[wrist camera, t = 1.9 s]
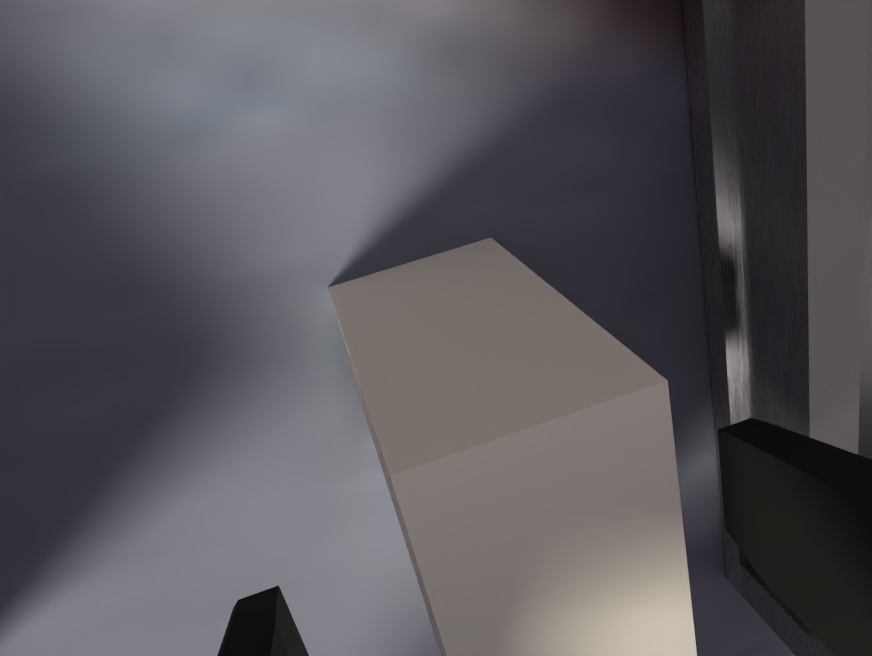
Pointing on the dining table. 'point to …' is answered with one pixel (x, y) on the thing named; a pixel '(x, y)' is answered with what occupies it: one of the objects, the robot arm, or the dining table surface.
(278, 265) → the dining table surface
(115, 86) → the dining table surface
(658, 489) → the cream rectangular block
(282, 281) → the dining table surface
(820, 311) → the grey metal bracket
